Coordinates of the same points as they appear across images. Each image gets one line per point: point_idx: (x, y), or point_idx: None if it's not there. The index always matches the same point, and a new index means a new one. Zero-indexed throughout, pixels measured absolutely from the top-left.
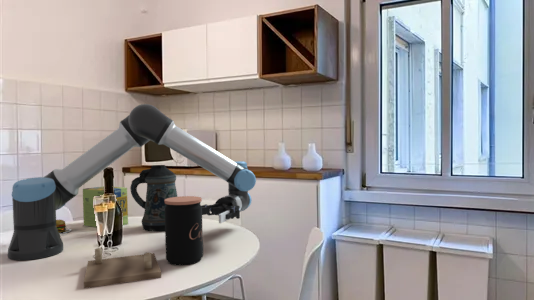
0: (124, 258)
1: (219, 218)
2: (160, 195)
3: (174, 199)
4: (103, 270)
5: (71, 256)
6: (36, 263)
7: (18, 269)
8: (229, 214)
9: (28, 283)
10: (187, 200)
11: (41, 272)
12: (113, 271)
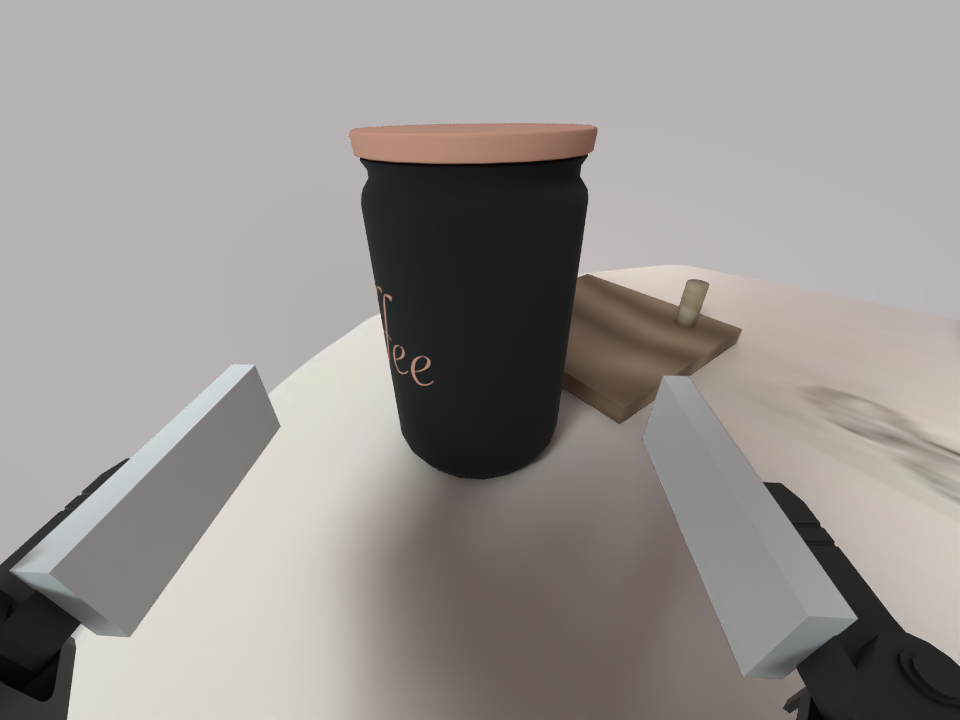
0: (664, 354)
1: (260, 395)
2: None
3: (514, 125)
4: (615, 302)
5: (936, 387)
6: (904, 335)
7: (861, 310)
8: (102, 474)
9: (712, 283)
10: (419, 125)
11: (779, 308)
12: (586, 302)
